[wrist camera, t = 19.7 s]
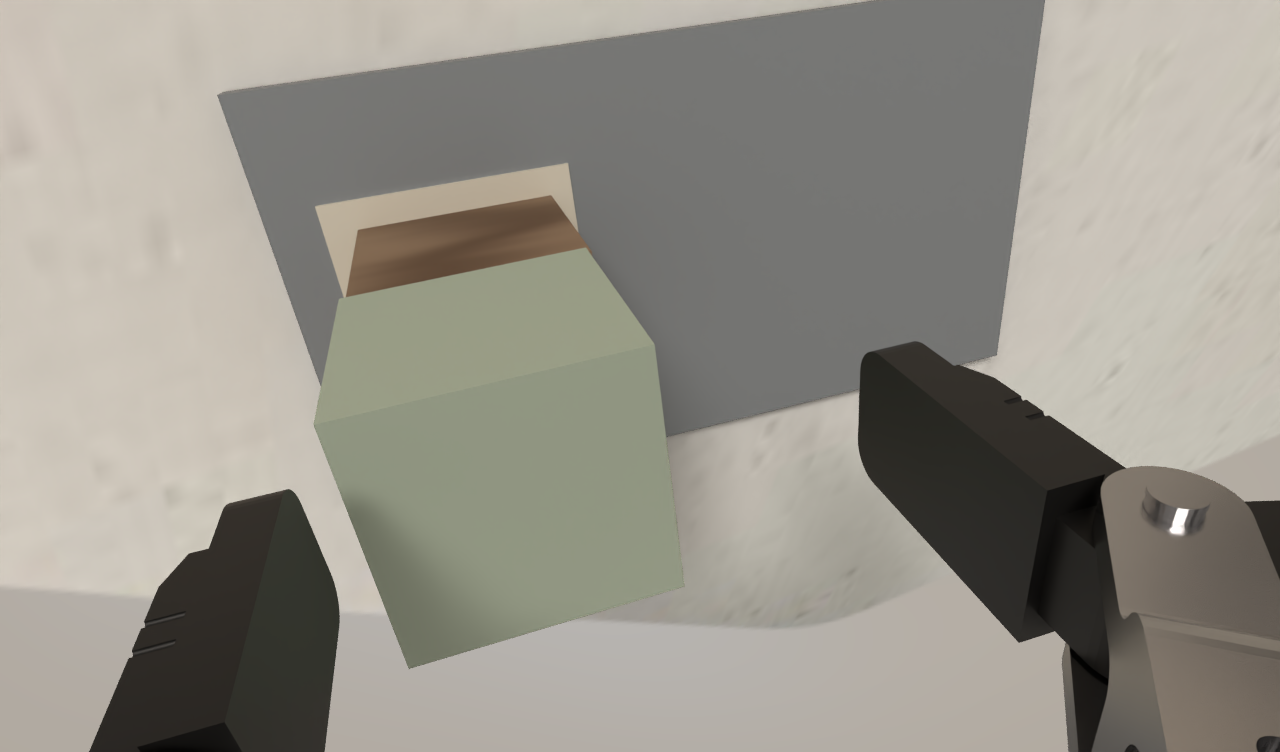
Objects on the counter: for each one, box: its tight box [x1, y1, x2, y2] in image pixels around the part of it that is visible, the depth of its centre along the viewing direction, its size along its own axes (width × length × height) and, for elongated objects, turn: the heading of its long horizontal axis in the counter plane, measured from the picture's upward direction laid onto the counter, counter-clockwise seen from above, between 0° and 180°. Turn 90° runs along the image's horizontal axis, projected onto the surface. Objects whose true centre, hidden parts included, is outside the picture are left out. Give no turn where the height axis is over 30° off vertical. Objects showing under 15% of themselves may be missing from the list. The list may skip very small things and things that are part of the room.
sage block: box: [314, 247, 684, 669], centre depth 14 cm, size 5×5×5 cm
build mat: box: [217, 0, 1045, 437], centre depth 22 cm, size 22×12×1 cm, turn 97°
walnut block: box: [346, 195, 592, 297], centre depth 19 cm, size 5×5×5 cm
